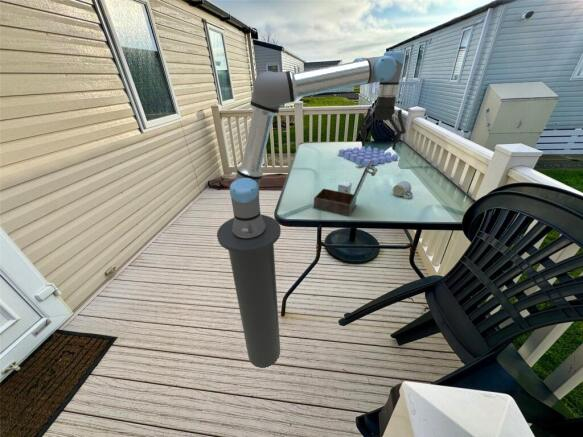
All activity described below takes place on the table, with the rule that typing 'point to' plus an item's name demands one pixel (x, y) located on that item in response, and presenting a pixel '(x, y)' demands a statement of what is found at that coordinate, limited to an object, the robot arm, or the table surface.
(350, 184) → the product carton
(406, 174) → the table surface
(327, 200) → the brown wooden box
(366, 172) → the lid
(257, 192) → the robot arm
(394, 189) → the ceramic mug
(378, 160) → the purple egg tray
